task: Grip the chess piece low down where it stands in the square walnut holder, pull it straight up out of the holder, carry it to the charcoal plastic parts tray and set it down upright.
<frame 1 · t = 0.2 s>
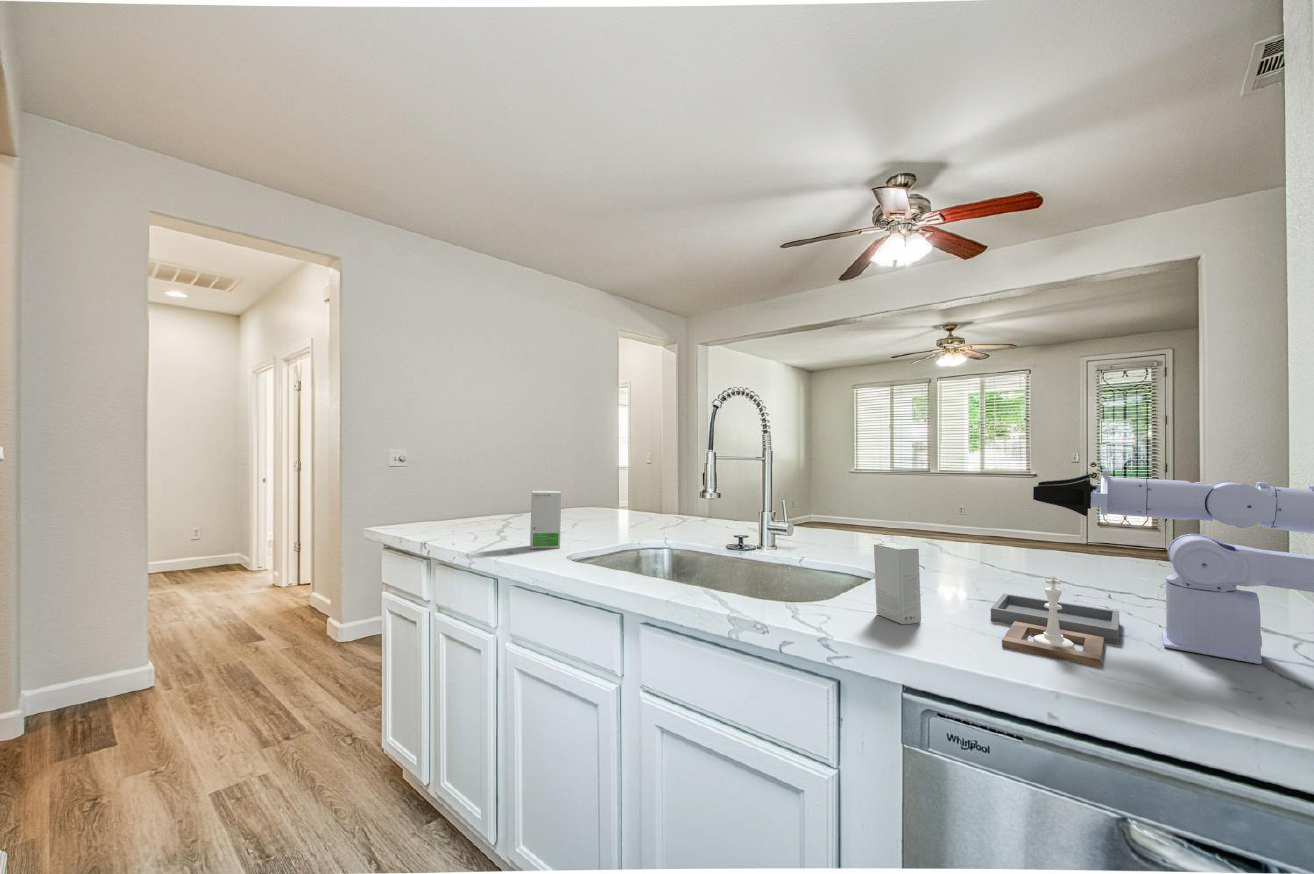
hand: (1035, 490, 91), 21 cm above the worktop, tool horizontal, fingers open, 7 cm apart
parts tray: (1054, 621, 90), on the worktop
chess piece: (1053, 647, 79), resting in walnut holder
skincare box: (545, 547, 154), on the worktop
walnut holder: (1053, 645, 79), on the worktop
skincare box 2: (897, 619, 92), on the worktop
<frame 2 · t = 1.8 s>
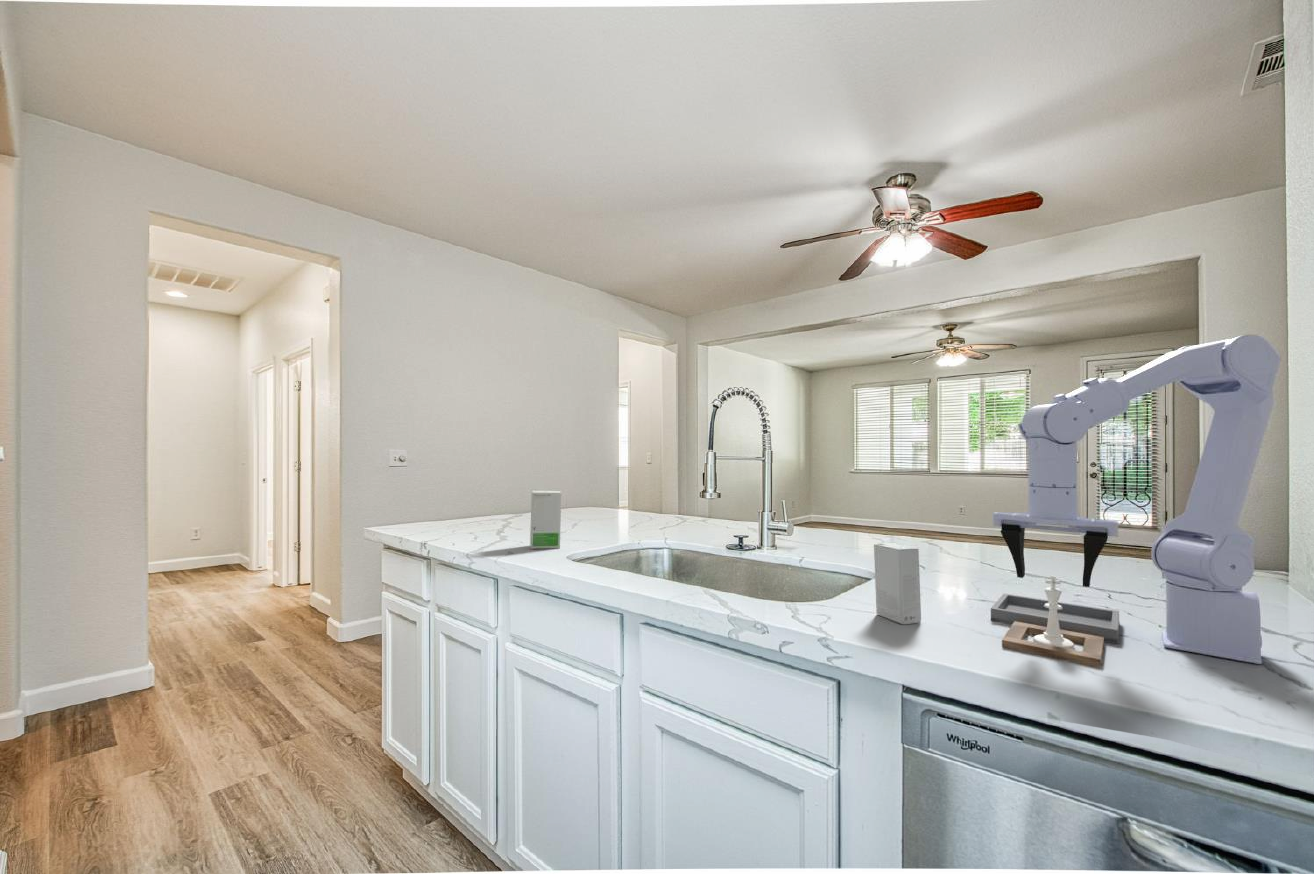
hand: (1052, 580, 79), 9 cm above the worktop, tool pointing down, fingers open, 7 cm apart
nothing on the worktop moved.
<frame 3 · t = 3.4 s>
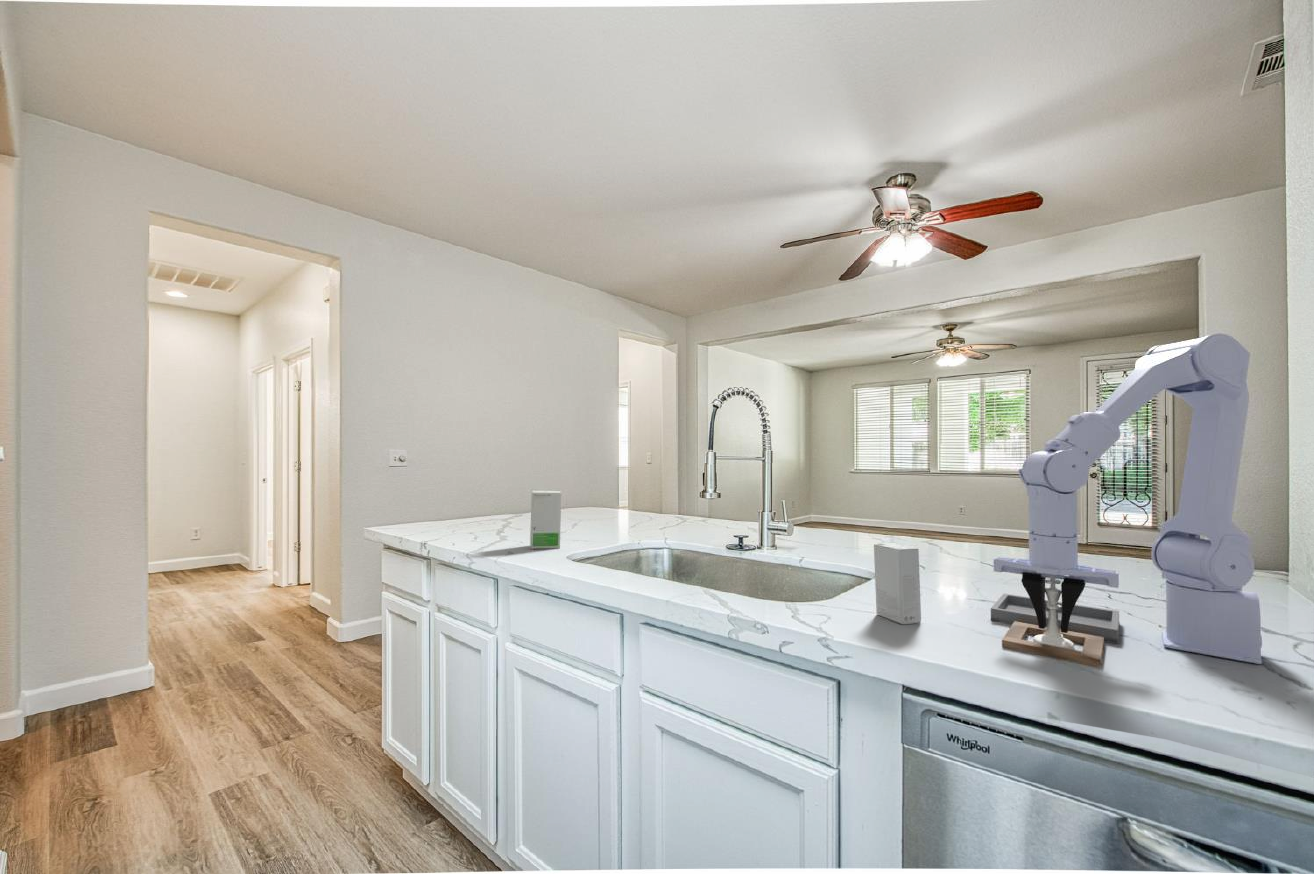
hand: (1053, 628, 79), 2 cm above the worktop, tool pointing down, fingers closed on chess piece, 2 cm apart
chess piece: (1053, 647, 79), resting in walnut holder, touching gripper
everything else where it was.
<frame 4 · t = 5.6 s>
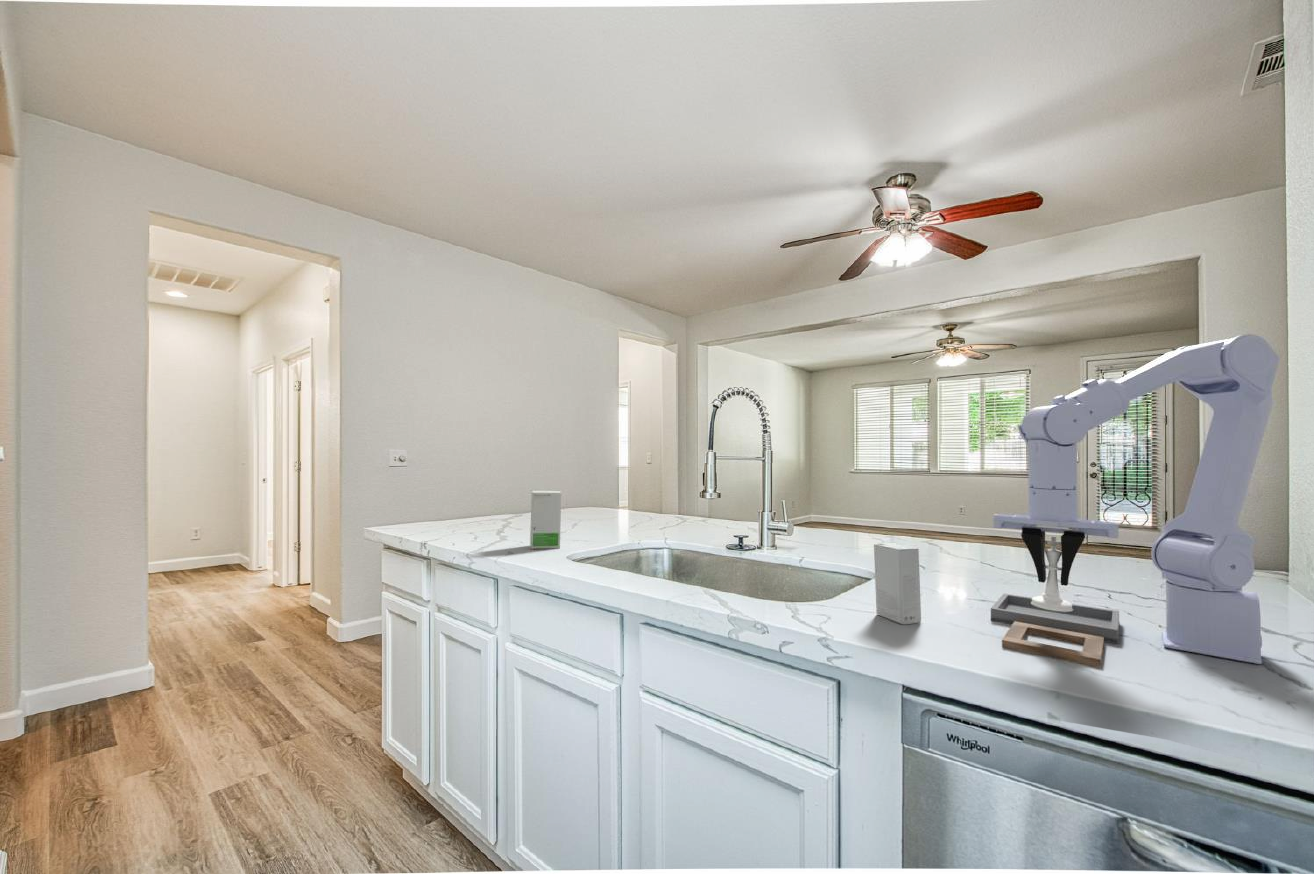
hand: (1053, 582, 79), 9 cm above the worktop, tool pointing down, fingers closed on chess piece
chess piece: (1051, 607, 79), point 5 cm above the worktop, touching gripper
everything else where it was.
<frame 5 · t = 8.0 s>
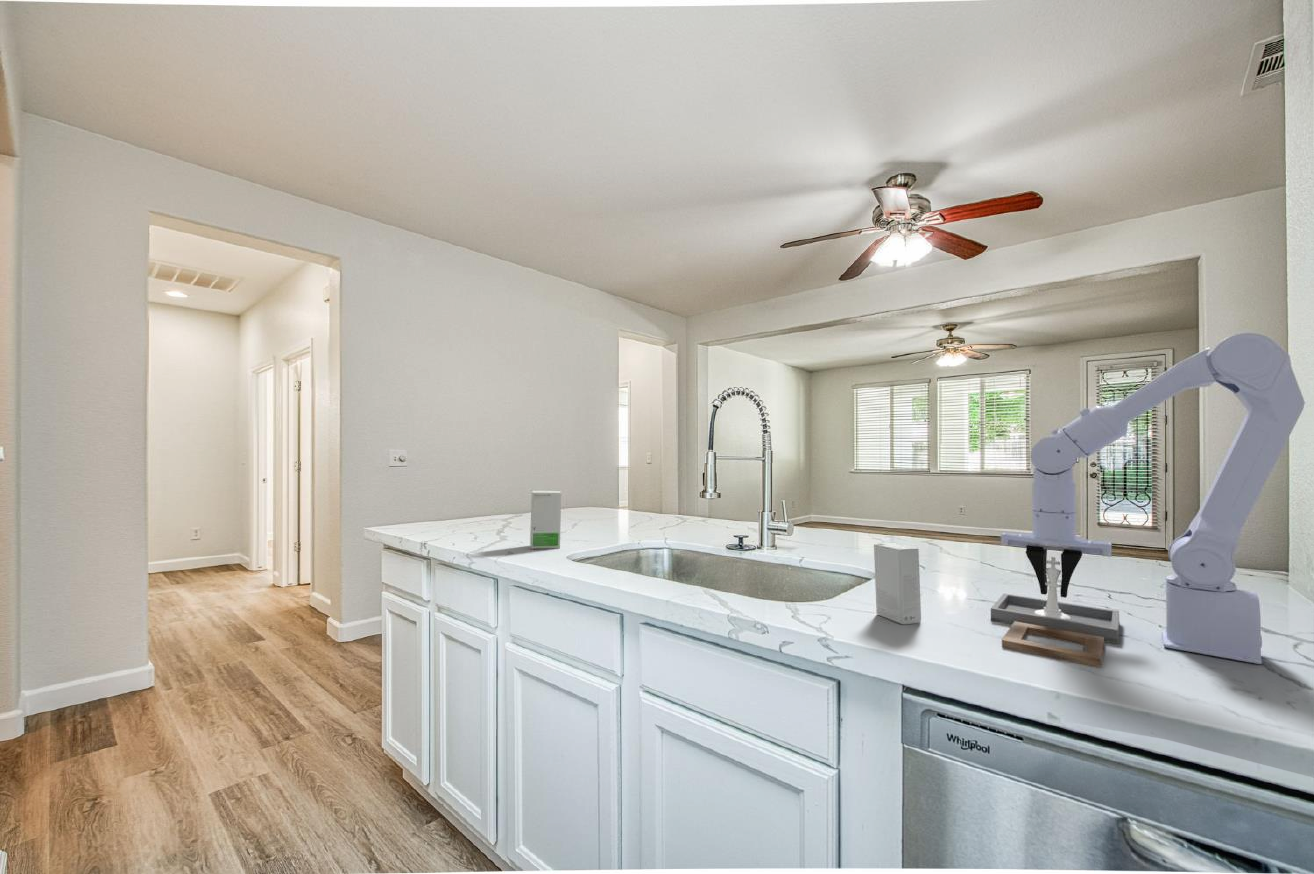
hand: (1053, 594, 90), 4 cm above the worktop, tool pointing down, fingers closed on chess piece
chess piece: (1052, 620, 89), resting on parts tray, touching gripper
everything else where it was.
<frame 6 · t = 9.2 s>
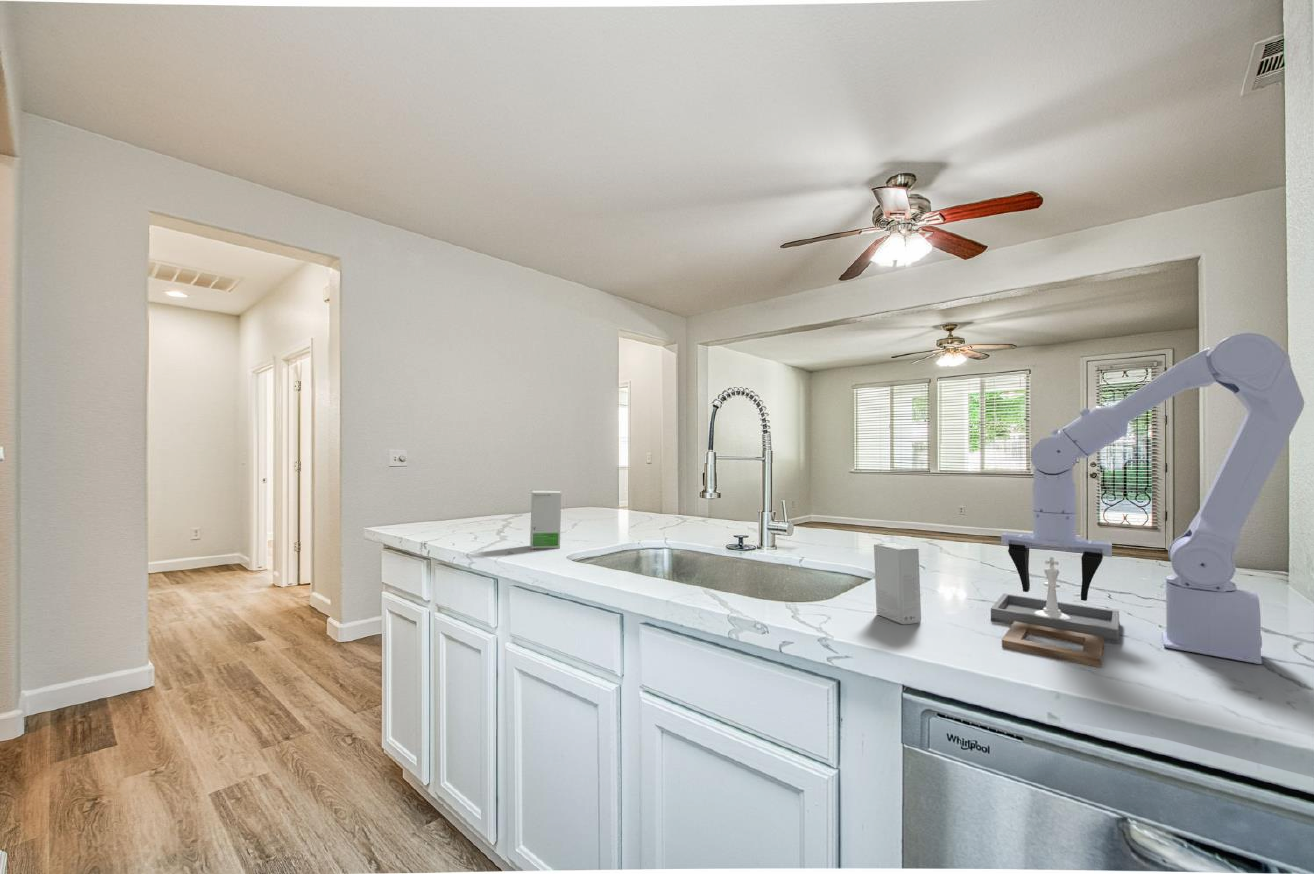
hand: (1054, 594, 90), 4 cm above the worktop, tool pointing down, fingers open, 7 cm apart
chess piece: (1052, 620, 89), resting on parts tray
everything else where it was.
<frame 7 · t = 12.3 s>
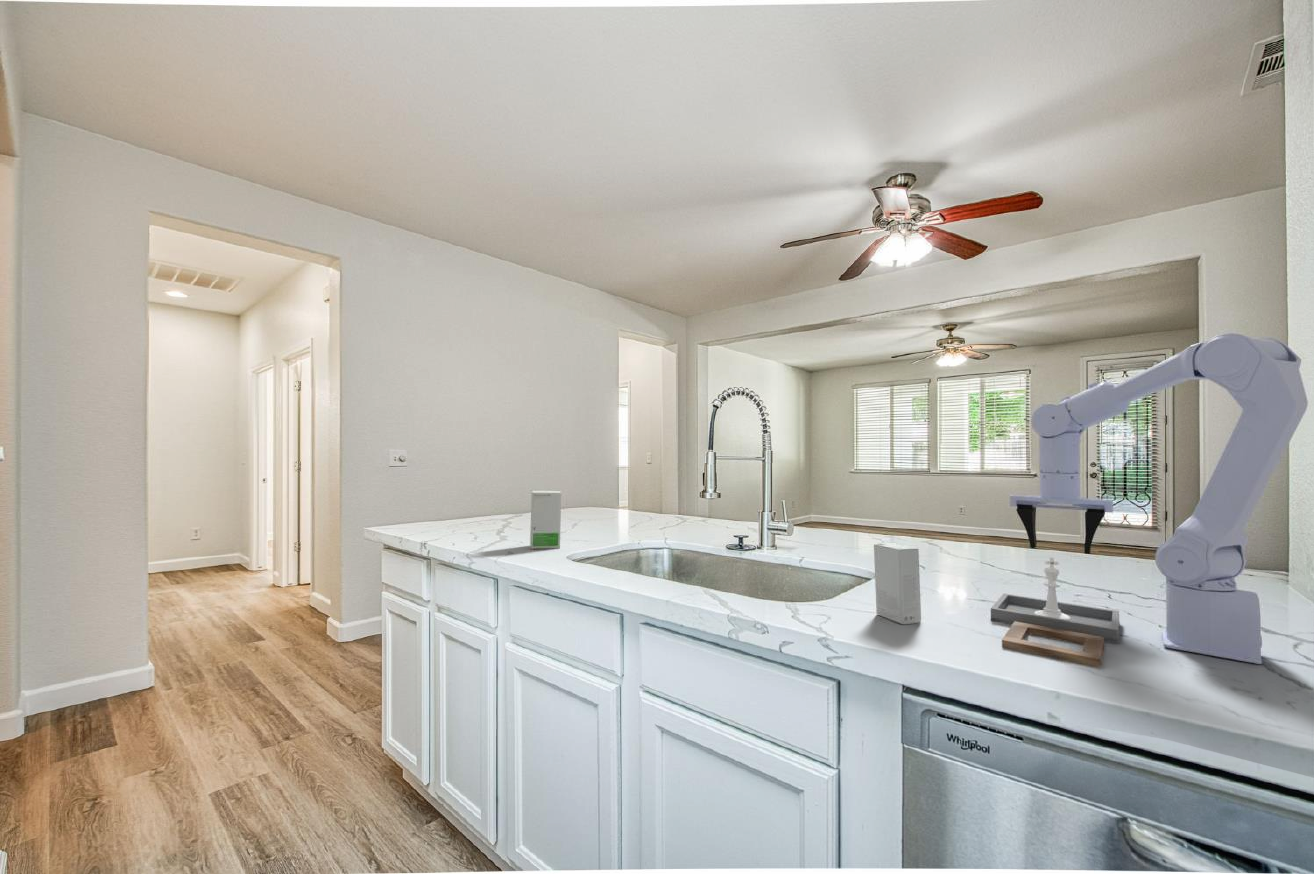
hand: (1059, 550, 97), 10 cm above the worktop, tool pointing down, fingers open, 7 cm apart
nothing on the worktop moved.
at the end: chess piece inside the target area on the parts tray (1.1 cm from its centre), point 0.4 cm above the parts tray's base; chess piece tilted 0°; the gripper is holding nothing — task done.
